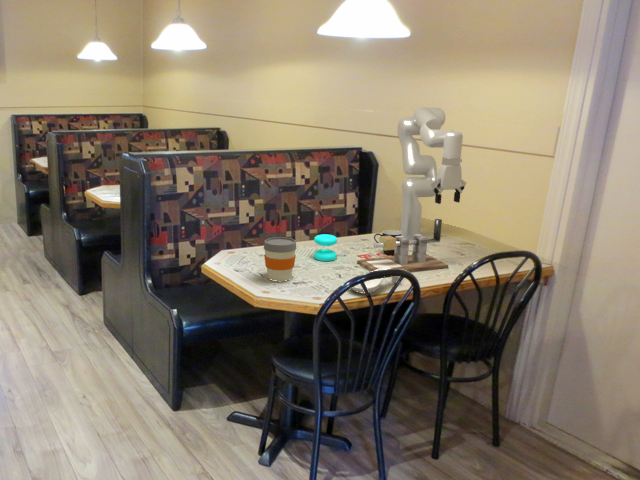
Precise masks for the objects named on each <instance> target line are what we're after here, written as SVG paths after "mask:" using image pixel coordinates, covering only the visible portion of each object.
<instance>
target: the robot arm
mask: <svg viewBox="0 0 640 480" xmlns="http://www.w3.org/2000/svg"><path fill="white" fill-rule="evenodd" d="M445 121H446V113H445V111H444V110H443V108H441V107H419V108H417V109H416V110H414V112H413V115H412V116H409V117H408V116H406V117H403V118H401V119H400V120H399V121H398V123H397V136H398V139H399V143H400V147H401V154H402V155H401V156H402V157H401V158H402V169H403V171H404V173H405V174H406V175H410V176H412V177H406V178H404V179H403V180H402V182H401V185H400V186H401V198H402V199H401V200H402V203H401V215H400V216H401V218H400V230H398V231H399V232H401V233H402V234H401V236H403V237H406V238H408V239H409V240H413V237H414V235H416V234H420V235H421V225H422V224H421V223H422V209H423V206H422V203H421V202H420V200H419V199H418V198H430V197H431V198H433V197H434V203H436V204H439V205H440V204H441V203H442V192H443V191H446V190H454V194H453V202H454V203H455V202H456V203H460V200H461V194H462V193H463V190H465V187H466V185H467V182H466V181H465V180H464V179H462V178H463V177H462V166H461V163H462V162H463V159H462V148H463V139H464V138H463V137H464V136H463V133H462V132H459V131H457V130H454V129H441V128H442V127H443V125H444V124H445ZM414 136H419V137H420V140H421V142H422V143H423V144H424V145H425V146H426V147H428V148H433V149H434V148H438V149H439V148H440V149H441V148H442V153H441V154H442V155H441V164H440V165H439V166H438V169H437V161H436V159H435V158H434V157H433V156H432V155H429V154H427V155H426V154H421V152H420V144H419V142H418V141H417V140H416V139H415V137H414ZM413 176H414V177H413ZM418 176H420V177H418ZM423 176H424V177H423Z"/></svg>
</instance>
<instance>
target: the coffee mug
mask: <svg viewBox="0 0 640 480" xmlns="http://www.w3.org/2000/svg"><path fill="white" fill-rule="evenodd" d="M399 231H400V230H393V229H386V230H383V231H382V232H381V233H376V234H374V236H373V239H374V241H375V243H379V241H378V240H377V239H376V236H379V237H380V236H392V237H394V238H395V236H401V234H402V233H401V232H399ZM382 250H383V255H385V256H387V257H393V256H394V252H395V250H384V248H382Z"/></svg>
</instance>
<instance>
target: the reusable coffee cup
mask: <svg viewBox="0 0 640 480" xmlns="http://www.w3.org/2000/svg"><path fill="white" fill-rule="evenodd" d="M263 250H264V253H265V254H264V256H263V258H264V264H265V268H266V272H267V279H268V278H269V279H272V280H277V281H285V280H289V279H291V280H292V275H293V269H294V267H295V262H296V250H297V242H296V240H295V239H293V238H291V237H284V236H283V237H282V236H281V237H280V236H278V237H277V236H275V237H274V236H273V237H269V238H266V239H264V243H263ZM269 279H268V280H269ZM289 281H290V280H289Z"/></svg>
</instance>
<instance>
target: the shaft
mask: <svg viewBox="0 0 640 480" xmlns="http://www.w3.org/2000/svg"><path fill="white" fill-rule="evenodd" d="M442 225H443V220H442V218H435V219H434V226H433V237H431V238H428V237H427V244H433V243H434V244H435V243H440V242H441V237H442ZM414 244H419V239H417V240H409V246H413V245H414ZM396 246H401V241H396ZM382 247H384V243H377V242H375V243H373V248H374V249H381V248H382ZM382 249H383V248H382Z"/></svg>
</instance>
